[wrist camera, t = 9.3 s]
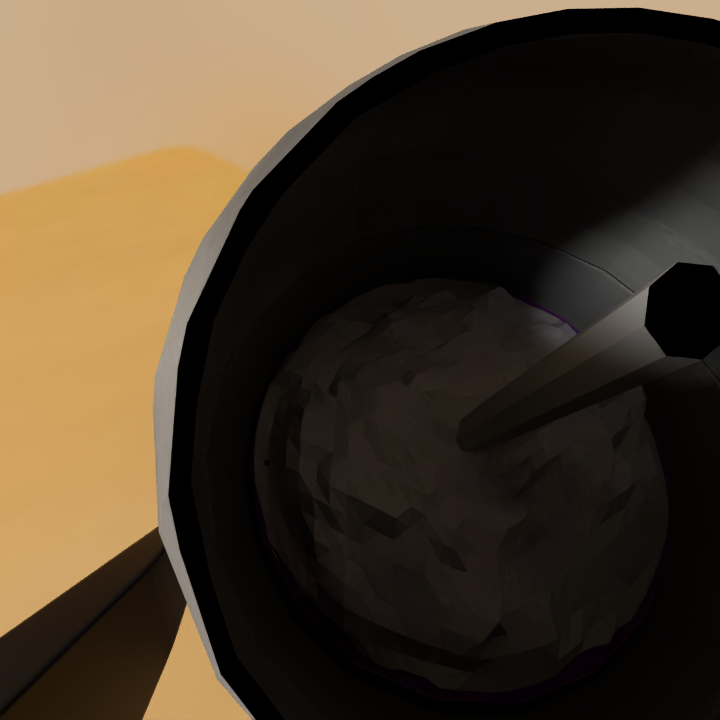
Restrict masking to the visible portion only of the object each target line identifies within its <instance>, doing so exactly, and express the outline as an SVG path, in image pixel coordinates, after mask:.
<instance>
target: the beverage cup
mask: <svg viewBox="0 0 720 720" xmlns="http://www.w3.org/2000/svg"><path fill="white" fill-rule="evenodd" d="M153 418H154V440H155V461H156V483H157V505H158V527H159V534H160V536H161V539H162V541H163V544H164V546H165V549H166V551H167V554H168V556H169V559H170V561H171V564H172V567H173V569H174V572H175V574H176V577H177V579H178V582H179V584H180V587H181V589H182V592H183V594H184V597H185V599H186V602H187V604H188V607H189V609H190V612H191V614H192V617H193V619H194V622H195V624H196V627H197V629H198V632H199V634H200V637H201V640H202V642H203V645H204V647H205V650H206V652H207V655H208V657H209V660H210V662H211V665H212V667H213V670H214V672H215V675H216V677H217V680H218V681H219V682H220V683H221V684H222V685H223V686H224V688H225V689H226V690H227V691H228V692H229V693H230V694H231V696H232V697H233V698H234V699H235V700H236V701H237V702H238V704H239V705H240V706H241V707H242V708H243V709H244V710H245V712H246V713H247V714H248V715H249V716H250V717H251V719H252V720H720V21H718V20H715V19H710V18H704V17H697V16H691V15H683V14H677V13H670V12H664V11H657V10H650V9H644V8H603V9H601V8H600V9H598V8H597V9H565V10H560V11H554V12H549V13H544V14H539V15H533V16H528V17H523V18H517V19H512V20H507V21H502V22H496V23H492V24H487V25H483V26H479V27H474V28H470V29H466V30H463V31H460V32H457V33H455V34H453V35H450V36H448V37H445V38H443V39H440V40H438V41H435V42H433V43H430V44H428V45H425V46H423V47H421V48H418V49H415V50H413V51H410V52H408V53H405V54H403V55H401V56H399V57H397V58H396V59H394V60H392V61H390V62H389V63H387V64H385V65H384V66H382V67H380V68H378V69H377V70H375V71H373V72H371V73H370V74H368V75H367V76H365V77H363V78H361V79H359V80H358V81H356V82H354V83H352V84H351V85H349V86H348V87H346V88H345V89H344V90H343V91H341V92H340V93H338V94H337V95H336V96H334V97H333V98H332V99H330V100H329V101H328V102H326V103H325V104H324V105H322V106H321V107H320V108H318V109H317V110H316V111H315V112H313V113H312V114H310V115H309V116H308V117H307V118H305V119H304V120H302V121H301V122H300V123H298V124H297V125H296V126H294V127H293V128H292V129H290V130H289V131H288V132H287V133H286V134H285V135H284V136H283V137H282V138H281V139H280V140H279V141H278V143H277V144H276V145H275V146H274V147H273V148H272V149H271V150H270V151H269V152H268V153H267V154H266V155H265V156H264V157H263V158H262V159H261V161H260V162H258V164H257V165H256V166H255V167H254V168H253V169H252V171H251V172H250V173H249V175H248V176H247V178H246V179H245V180H244V182H243V183H242V185H241V186H240V187H239V189H238V190H237V192H236V193H235V194H234V196H233V197H232V199H231V200H230V201H229V203H228V204H227V206H226V207H225V208H224V210H223V211H222V213H221V214H220V215H219V217H218V218H217V220H216V221H215V222H214V224H213V225H212V227H211V228H210V229H209V231H208V232H207V234H206V235H205V236H204V238H203V239H202V241H201V244H200V246H199V248H198V250H197V252H196V254H195V256H194V258H193V260H192V262H191V264H190V266H189V268H188V270H187V272H186V274H185V277H184V280H183V284H182V287H181V291H180V294H179V297H178V301H177V304H176V307H175V311H174V314H173V317H172V321H171V324H170V327H169V331H168V334H167V337H166V341H165V344H164V348H163V351H162V354H161V358H160V361H159V364H158V368H157V371H156V374H155V383H154V398H153Z"/></svg>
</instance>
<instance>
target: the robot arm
mask: <svg viewBox="0 0 720 720" xmlns="http://www.w3.org/2000/svg"><path fill="white" fill-rule="evenodd" d="M186 604H187V602H186V599H185V597H184V594H183V592H182V589H181V587H180V584H179V582H178V579H177V577H176V574H175V572H174V569H173V567H172V564H171V561H170V559H169V556H168V554H167V551H166V549H165V546H164V544H163V541H162V539H161V536H160V534H159V527H157V528H155V529H154V530H152V531H151V532H149V533H148V534H147V535H145V536H144V537H142V538H141V539H140V540H138V541H137V542H135V543H134V544H132V545H131V546H130V547H128V548H127V549H125V550H124V551H122V552H121V553H120V554H118V555H117V556H115V557H114V558H113V559H111V560H110V561H108V562H107V563H105V564H104V565H103V566H101V567H100V568H98V569H97V570H95V571H94V572H93V573H91V574H90V575H88V576H87V577H86V578H84V579H83V580H81V581H80V582H78V583H77V584H76V585H74V586H73V587H71V588H70V589H69V590H67V591H66V592H64V593H63V594H61V595H60V596H59V597H57V598H56V599H54V600H53V601H51V602H50V603H49V604H47V605H46V606H44V607H43V608H42V609H40V610H39V611H37V612H36V613H34V614H33V615H32V616H30V617H29V618H27V619H26V620H24V621H23V622H22V623H20V624H19V625H17V626H16V627H14V628H13V629H12V630H10V631H9V632H7V633H6V634H5V635H3V636H2V637H0V720H142V719H143V717H144V714H145V712H146V710H147V707H148V705H149V702H150V700H151V698H152V695H153V693H154V690H155V688H156V686H157V683H158V681H159V679H160V676H161V674H162V671H163V669H164V667H165V664H166V662H167V659H168V657H169V654H170V652H171V649H172V647H173V644H174V641H175V638H176V635H177V633H178V630H179V626H180V623H181V620H182V617H183V614H184V611H185V608H186Z"/></svg>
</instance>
